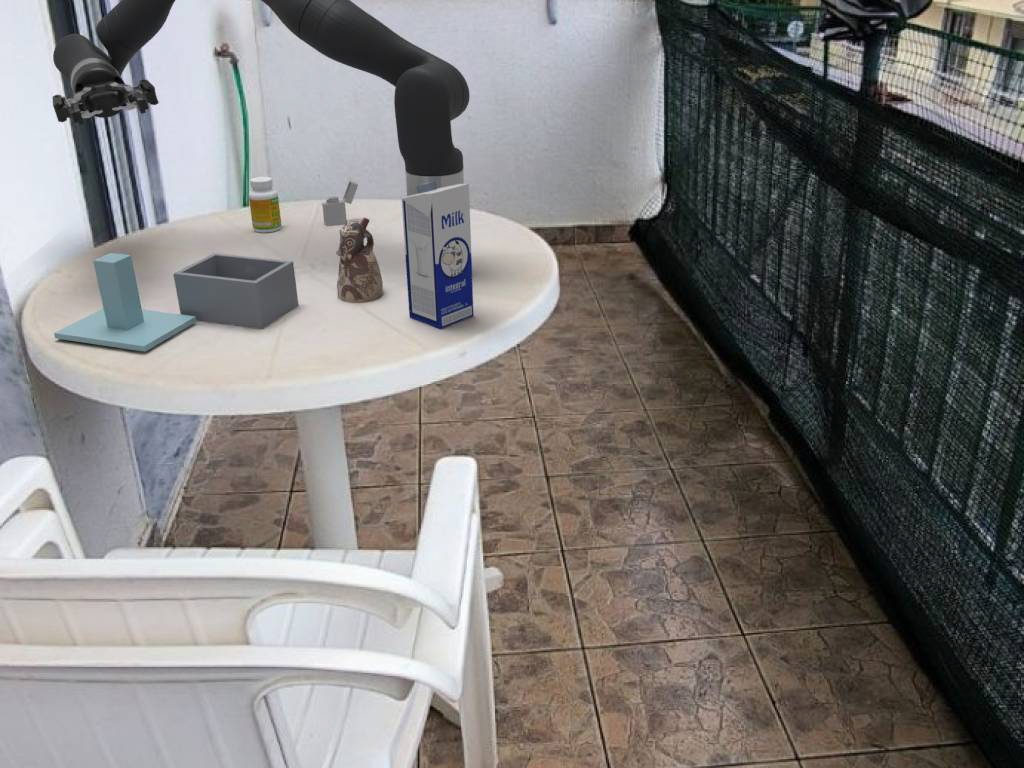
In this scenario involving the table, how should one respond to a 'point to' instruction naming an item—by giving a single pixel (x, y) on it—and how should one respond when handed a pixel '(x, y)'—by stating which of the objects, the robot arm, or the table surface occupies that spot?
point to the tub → (237, 290)
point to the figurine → (357, 264)
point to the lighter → (338, 206)
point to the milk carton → (438, 254)
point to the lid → (123, 312)
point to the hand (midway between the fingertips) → (111, 112)
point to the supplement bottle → (264, 205)
